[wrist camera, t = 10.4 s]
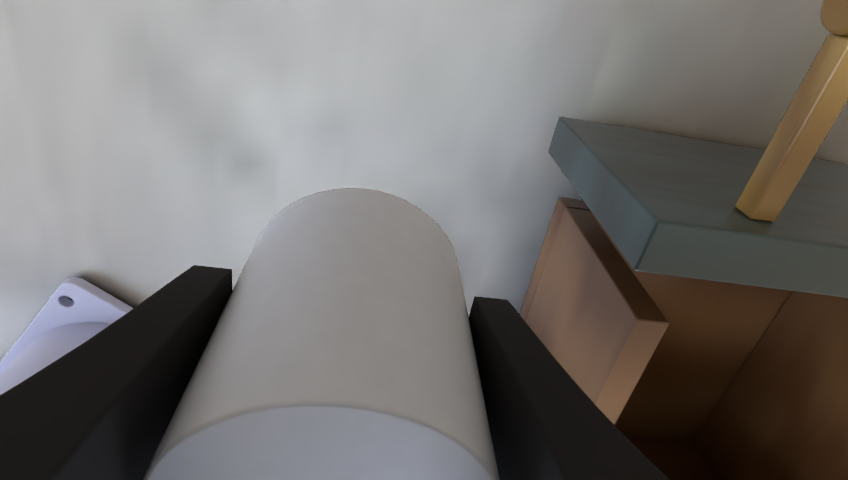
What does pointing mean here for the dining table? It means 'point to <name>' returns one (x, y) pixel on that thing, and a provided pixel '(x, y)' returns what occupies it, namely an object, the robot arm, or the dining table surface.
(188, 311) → the robot arm
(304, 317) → the paper towel roll
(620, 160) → the drawer
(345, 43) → the dining table surface
